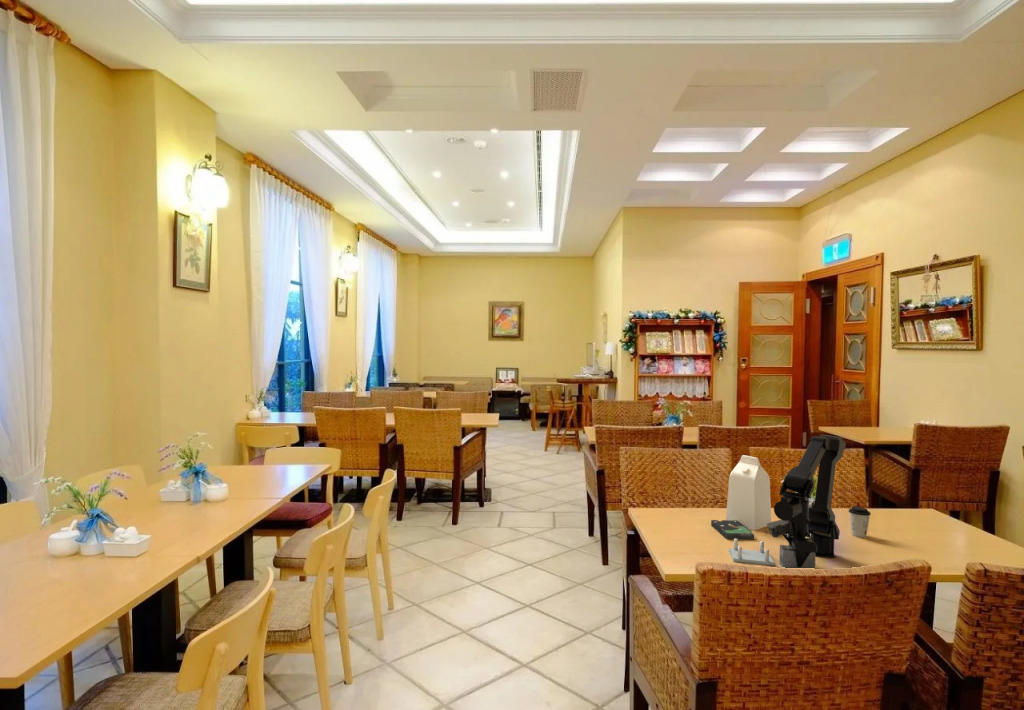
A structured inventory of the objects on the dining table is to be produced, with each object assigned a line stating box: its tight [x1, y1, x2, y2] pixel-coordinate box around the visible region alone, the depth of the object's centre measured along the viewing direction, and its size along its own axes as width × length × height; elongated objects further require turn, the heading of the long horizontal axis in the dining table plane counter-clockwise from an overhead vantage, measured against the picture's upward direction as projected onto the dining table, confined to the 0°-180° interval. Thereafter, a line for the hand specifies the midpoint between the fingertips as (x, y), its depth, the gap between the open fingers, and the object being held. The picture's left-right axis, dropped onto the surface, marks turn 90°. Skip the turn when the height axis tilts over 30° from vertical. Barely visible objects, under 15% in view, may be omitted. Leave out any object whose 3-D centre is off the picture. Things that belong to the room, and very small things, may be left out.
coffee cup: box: [848, 505, 872, 538], centre depth 197 cm, size 7×7×10 cm
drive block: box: [778, 544, 817, 569], centre depth 167 cm, size 9×4×6 cm, turn 76°
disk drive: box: [710, 519, 755, 541], centre depth 199 cm, size 10×3×15 cm
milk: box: [725, 454, 772, 531], centre depth 209 cm, size 12×12×26 cm
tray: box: [728, 539, 775, 566], centre depth 174 cm, size 12×9×4 cm
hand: (796, 563), depth 167 cm, fingers closed on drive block, 4 cm apart
